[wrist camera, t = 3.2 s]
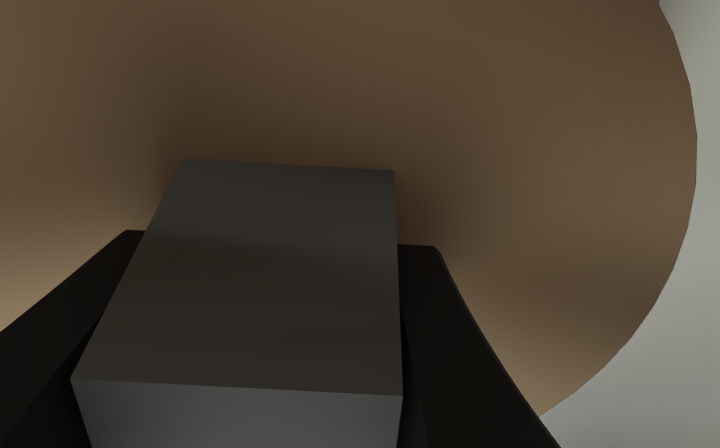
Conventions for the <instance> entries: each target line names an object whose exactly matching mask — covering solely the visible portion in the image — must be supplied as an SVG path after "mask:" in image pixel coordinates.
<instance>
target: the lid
mask: <svg viewBox="0 0 720 448" xmlns="http://www.w3.org/2000/svg"><path fill="white" fill-rule="evenodd" d="M696 159H697V132H696V125H695V118H694V111H693V103H692V96H691V89H690V84H689V81H688V78H687V75H686V71H685V68H684V65H683V62H682V59H681V56H680V53H679V49H678V46H677V43H676V40H675V37H674V34H673V32H672V30H671V28H670V26H669V24H668V22H667V20H666V18H665V16H664V14H663V12H662V10H661V8H660V6H659V4H658V2H657V0H0V331H2V330H3V329H4V328H6V327H7V326H8V325H9V324H11V323H12V322H13V321H14V320H16V319H17V318H18V317H19V316H21V315H22V314H23V313H24V312H26V311H27V310H28V309H29V308H31V307H32V306H33V305H34V304H35V303H37V302H38V301H39V300H40V299H42V298H43V297H44V296H45V295H47V294H48V293H49V292H50V291H52V290H53V289H54V288H55V287H57V286H58V285H59V284H60V283H61V282H63V281H64V280H65V279H66V278H67V277H69V276H70V275H71V274H72V273H73V272H75V271H76V270H77V269H78V268H79V267H81V266H82V265H83V264H84V263H85V262H87V261H88V260H89V259H90V258H91V257H93V256H94V255H95V254H96V253H97V252H98V251H100V250H101V249H102V248H103V247H105V246H106V245H107V244H108V243H109V242H111V241H112V240H113V239H114V238H116V237H117V236H118V235H119V234H121V233H122V232H123V231H125V230H126V229H127V230H146V231H145V233H144V235H143V237H142V239H141V241H140V243H139V245H138V247H137V249H136V251H135V253H134V255H133V257H132V258H131V260H130V262H129V264H128V266H127V268H126V270H125V272H124V274H123V276H122V278H121V280H120V282H119V284H118V286H117V288H116V290H115V292H114V294H113V296H112V298H111V299H110V301H109V303H108V305H107V307H106V309H105V311H104V313H103V315H102V317H101V319H100V321H99V323H98V325H97V327H96V329H95V331H94V333H93V335H92V337H91V339H90V340H89V342H88V344H87V346H86V348H85V350H84V352H83V354H82V356H81V358H80V360H79V362H78V364H77V366H76V368H75V370H74V372H73V374H72V376H71V378H70V381H71V384H72V387H73V390H74V393H75V396H76V399H77V402H78V405H79V408H80V412H81V415H82V418H83V421H84V424H85V427H86V430H87V433H88V436H89V439H90V442H91V445H92V448H396V444H397V437H398V429H399V422H400V415H401V407H402V400H403V382H402V357H401V332H400V306H399V281H398V256H397V244H408V245H427V246H435V247H436V248H437V249H438V251H439V252H440V253H441V254H442V257H443V259H444V261H445V264H446V266H447V268H448V270H449V272H450V274H451V276H452V278H453V280H454V282H455V284H456V286H457V288H458V290H459V292H460V294H461V296H462V298H463V299H464V301H465V303H466V305H467V307H468V308H469V310H470V312H471V314H472V316H473V317H474V319H475V321H476V323H477V324H478V326H479V328H480V329H481V331H482V333H483V334H484V336H485V338H486V339H487V341H488V342H489V344H490V346H491V347H492V349H493V350H494V352H495V353H496V355H497V357H498V358H499V360H500V361H501V363H502V365H503V366H504V368H505V369H506V371H507V372H508V374H509V375H510V377H511V378H512V380H513V381H514V383H515V384H516V386H517V387H518V389H519V390H520V392H521V393H522V395H523V396H524V398H525V399H526V400H527V402H528V403H529V405H530V406H531V407H532V409H533V410H534V412H535V413H536V414H537V416H540V415H542V414H544V413H545V412H547V411H548V410H549V409H551V408H552V407H554V406H555V405H557V404H558V403H560V402H561V401H563V400H564V399H566V398H567V397H569V396H570V395H571V394H573V393H574V392H576V391H577V390H578V389H579V388H580V387H581V386H583V385H584V384H585V383H586V382H587V381H588V380H590V379H591V378H592V377H593V376H594V375H595V374H597V373H598V372H599V371H600V370H601V369H602V368H604V367H605V366H606V364H607V363H608V362H609V361H610V360H611V359H612V358H613V357H614V356H615V355H616V354H617V353H618V351H619V350H620V349H621V348H622V347H623V346H624V345H625V344H626V343H627V342H628V341H629V340H630V338H631V337H632V336H633V334H634V333H635V331H636V330H637V329H638V327H639V326H640V324H641V323H642V322H643V320H644V319H645V317H646V316H647V315H648V313H649V312H650V310H651V309H652V308H653V306H654V304H655V303H656V301H657V299H658V297H659V295H660V293H661V291H662V289H663V287H664V285H665V284H666V282H667V280H668V278H669V276H670V274H671V272H672V270H673V268H674V265H675V262H676V260H677V257H678V254H679V251H680V248H681V245H682V242H683V240H684V237H685V234H686V231H687V228H688V223H689V218H690V212H691V207H692V202H693V196H694V191H695V186H696Z"/></svg>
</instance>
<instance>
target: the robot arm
mask: <svg viewBox="0 0 720 448" xmlns="http://www.w3.org/2000/svg"><path fill="white" fill-rule="evenodd" d="M145 231H146V230H127V229H126V230H125V231H123V232H122V233H121V234H119V235H118V236H117V237H116V238H114V239H113V240H112V241H111V242H109V243H108V244H107V245H106V246H105V247H103V248H102V249H101V250H100V251H98V252H97V253H96V254H95V255H94V256H93V257H91V258H90V259H89V260H88V261H87V262H85V263H84V264H83V265H82V266H81V267H79V268H78V269H77V270H76V271H75V272H73V273H72V274H71V275H70V276H69V277H67V278H66V279H65V280H64V281H63V282H61V283H60V284H59V285H58V286H57V287H55V288H54V289H53V290H52V291H50V292H49V293H48V294H47V295H45V296H44V297H43V298H42V299H40V300H39V301H38V302H37V303H35V304H34V305H33V306H32V307H31V308H29V309H28V310H27V311H26V312H24V313H23V314H22V315H21V316H19V317H18V318H17V319H16V320H14V321H13V322H12V323H11V324H9V325H8V326H7V327H6V328H4V329H3V330H2V331H0V448H92V445H91V442H90V439H89V436H88V433H87V430H86V427H85V424H84V421H83V418H82V415H81V412H80V408H79V405H78V402H77V399H76V396H75V393H74V390H73V387H72V384H71V381H70V378H71V376H72V374H73V372H74V370H75V368H76V366H77V364H78V362H79V360H80V358H81V356H82V354H83V352H84V350H85V348H86V346H87V344H88V342H89V340H90V339H91V337H92V335H93V333H94V331H95V329H96V327H97V325H98V323H99V321H100V319H101V317H102V315H103V313H104V311H105V309H106V307H107V305H108V303H109V301H110V299H111V298H112V296H113V294H114V292H115V290H116V288H117V286H118V284H119V282H120V280H121V278H122V276H123V274H124V272H125V270H126V268H127V266H128V264H129V262H130V260H131V258H132V257H133V255H134V253H135V251H136V249H137V247H138V245H139V243H140V241H141V239H142V237H143V235H144V233H145ZM397 256H398V281H399V306H400V332H401V357H402V382H403V400H402V407H401V415H400V422H399V429H398V437H397V444H396V448H561V447H560V446H559V444H558V443H557V442H556V440H555V439H554V438H553V436H552V435H551V434H550V432H549V431H548V430H547V428H546V427H545V426H544V424H543V423H542V421H541V420H540V419H539V417H538V416H537V414H536V413H535V412H534V410H533V409H532V407H531V406H530V405H529V403H528V402H527V400H526V399H525V398H524V396H523V395H522V393H521V392H520V390H519V389H518V387H517V386H516V384H515V383H514V381H513V380H512V378H511V377H510V375H509V374H508V372H507V371H506V369H505V368H504V366H503V365H502V363H501V361H500V360H499V358H498V357H497V355H496V353H495V352H494V350H493V349H492V347H491V346H490V344H489V342H488V341H487V339H486V338H485V336H484V334H483V333H482V331H481V329H480V328H479V326H478V324H477V323H476V321H475V319H474V317H473V316H472V314H471V312H470V310H469V308H468V307H467V305H466V303H465V301H464V299H463V298H462V296H461V294H460V292H459V290H458V288H457V286H456V284H455V282H454V280H453V278H452V276H451V274H450V272H449V270H448V268H447V266H446V264H445V261H444V259H443V257H442V254H441V253H440V252H439V251H438V249H437V248H436V247H435V246H427V245H408V244H397Z"/></svg>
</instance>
